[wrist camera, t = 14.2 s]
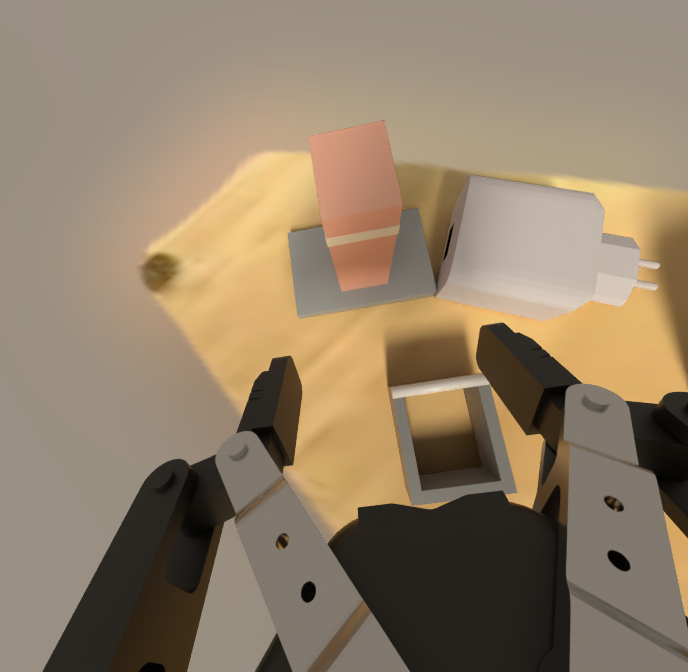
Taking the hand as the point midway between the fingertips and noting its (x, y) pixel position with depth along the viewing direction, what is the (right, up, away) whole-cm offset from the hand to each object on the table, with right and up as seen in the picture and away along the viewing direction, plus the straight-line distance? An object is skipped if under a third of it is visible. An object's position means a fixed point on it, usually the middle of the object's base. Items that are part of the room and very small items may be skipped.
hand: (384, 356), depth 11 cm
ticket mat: (0, +7, +13) cm, 15 cm away
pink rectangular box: (0, +8, +12) cm, 14 cm away
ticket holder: (+6, -7, +10) cm, 13 cm away
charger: (+14, +7, +12) cm, 20 cm away
